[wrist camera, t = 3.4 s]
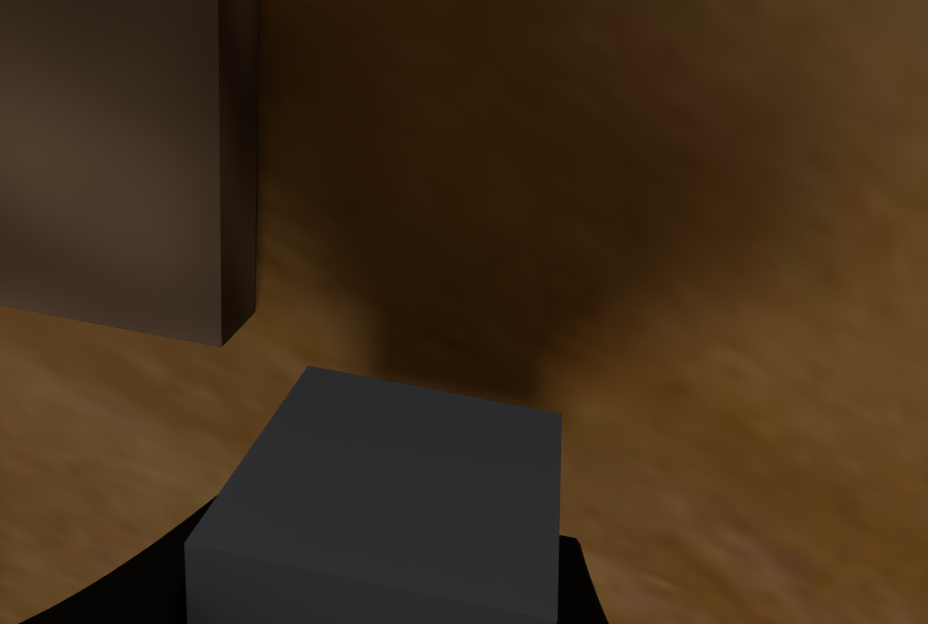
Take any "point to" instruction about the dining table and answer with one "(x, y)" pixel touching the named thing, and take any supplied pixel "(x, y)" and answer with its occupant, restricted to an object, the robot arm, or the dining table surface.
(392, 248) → the dining table surface
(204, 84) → the base slab
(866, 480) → the dining table surface
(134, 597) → the robot arm
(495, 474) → the grey cube
